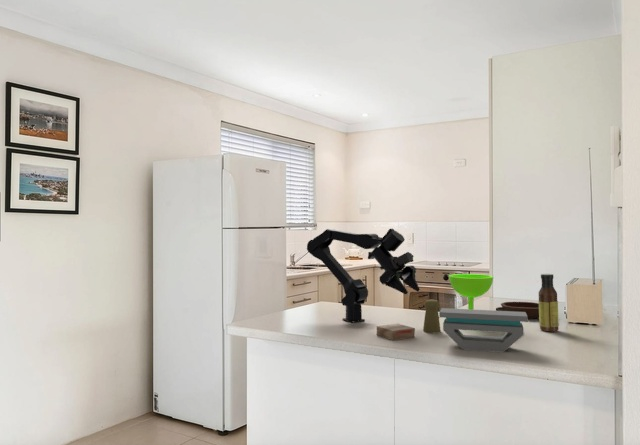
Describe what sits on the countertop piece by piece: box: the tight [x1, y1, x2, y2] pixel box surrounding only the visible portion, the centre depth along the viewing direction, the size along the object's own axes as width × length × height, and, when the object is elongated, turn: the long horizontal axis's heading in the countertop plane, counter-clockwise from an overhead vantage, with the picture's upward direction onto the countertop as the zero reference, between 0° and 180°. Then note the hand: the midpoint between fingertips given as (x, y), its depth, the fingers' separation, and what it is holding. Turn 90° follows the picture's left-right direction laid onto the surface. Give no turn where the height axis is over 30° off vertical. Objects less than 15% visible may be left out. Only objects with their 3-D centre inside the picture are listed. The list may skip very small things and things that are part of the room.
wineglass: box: [448, 273, 494, 310], centre depth 195 cm, size 16×16×18 cm
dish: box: [495, 301, 539, 320], centre depth 212 cm, size 17×22×5 cm
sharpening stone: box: [438, 307, 529, 353], centre depth 159 cm, size 25×8×11 cm, turn 73°
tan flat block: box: [376, 323, 416, 341], centre depth 175 cm, size 9×9×3 cm
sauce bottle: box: [538, 273, 560, 333], centre depth 184 cm, size 6×6×20 cm
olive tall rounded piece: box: [422, 299, 442, 334], centre depth 183 cm, size 6×6×11 cm
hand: (413, 292), depth 188 cm, fingers open, 9 cm apart
